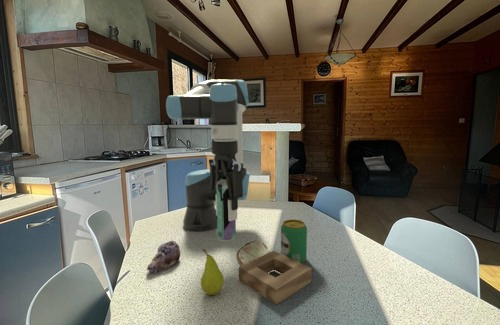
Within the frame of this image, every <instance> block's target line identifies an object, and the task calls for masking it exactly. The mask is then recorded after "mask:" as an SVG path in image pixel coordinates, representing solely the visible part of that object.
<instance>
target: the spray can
mask: <svg viewBox="0 0 500 325" xmlns="http://www.w3.org/2000/svg"><path fill="white" fill-rule="evenodd" d="M216 190H217V222H218V226H217V240H218V241H219V242H222V243H232V242H233V241H235V240H236V239H237V227H236V226H237V224H236V223H237V221H236V220H237V219H236V220H233V221H228V198H230V196H229V191H228V186H227V180H226V177H225V176H224V175H222V178H221V180H220V181H218V182H217V185H216ZM233 195H234V194H233Z"/></svg>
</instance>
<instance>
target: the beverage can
mask: <svg viewBox="0 0 500 325" xmlns="http://www.w3.org/2000/svg"><path fill="white" fill-rule="evenodd" d="M307 237H308V228H307V226H306V223H305V222H304V221H302V220H300V219H292V218H291V219H287V220H283V222H282V224H281V226H280V254H282V255H284V256H287V257H289V258H291V259H293V260H295V261H297V262H300V263H302V264H304V263H305V262H306V260H307V253H308V252H307V245H308V242H307V240H308V238H307Z"/></svg>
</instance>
